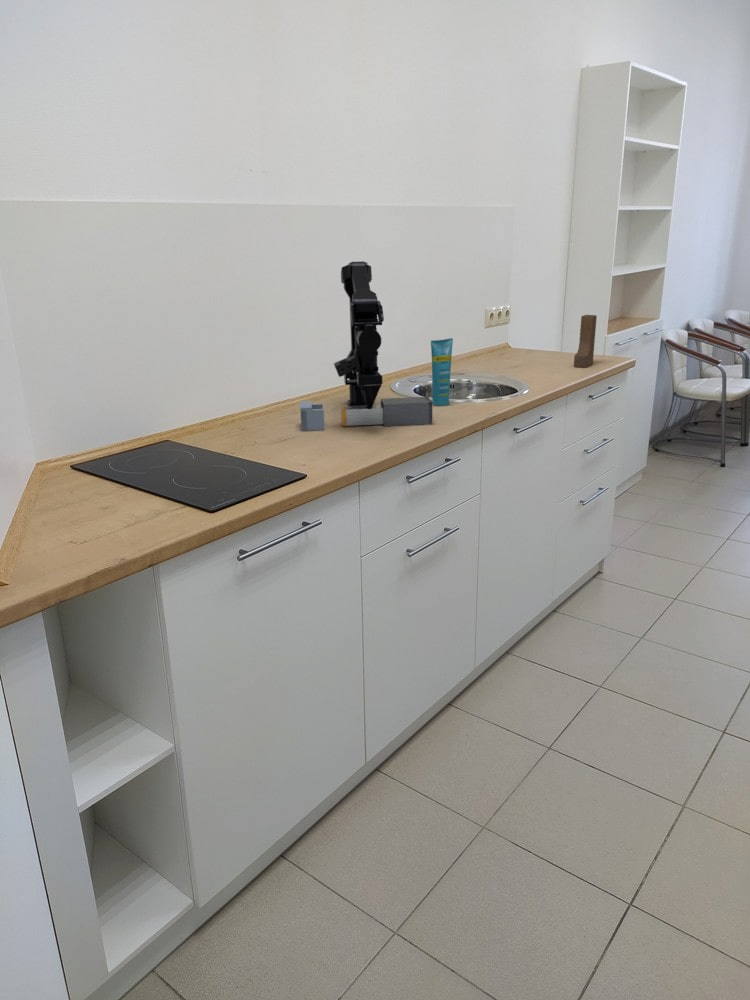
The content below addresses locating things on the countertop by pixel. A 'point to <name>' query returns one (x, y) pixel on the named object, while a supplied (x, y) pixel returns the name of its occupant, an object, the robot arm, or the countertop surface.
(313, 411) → the blue-grey u-shaped block
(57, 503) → the countertop surface
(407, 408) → the sleeve
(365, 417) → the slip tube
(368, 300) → the robot arm
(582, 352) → the wooden block
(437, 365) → the tube
